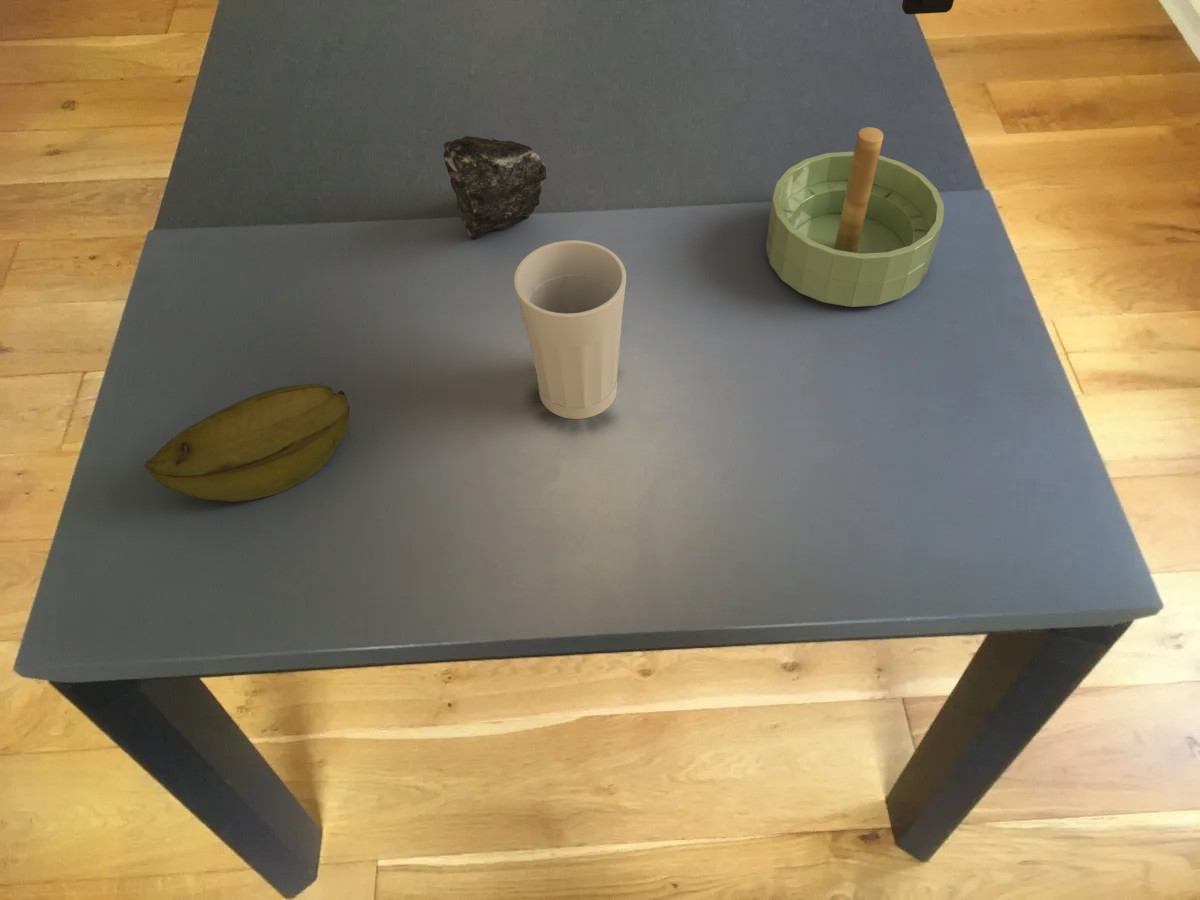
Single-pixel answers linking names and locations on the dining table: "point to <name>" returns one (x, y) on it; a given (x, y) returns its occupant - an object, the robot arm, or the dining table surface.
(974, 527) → the dining table surface
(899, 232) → the bowl
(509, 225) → the rock
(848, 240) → the stick
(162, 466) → the fruit
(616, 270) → the cup
